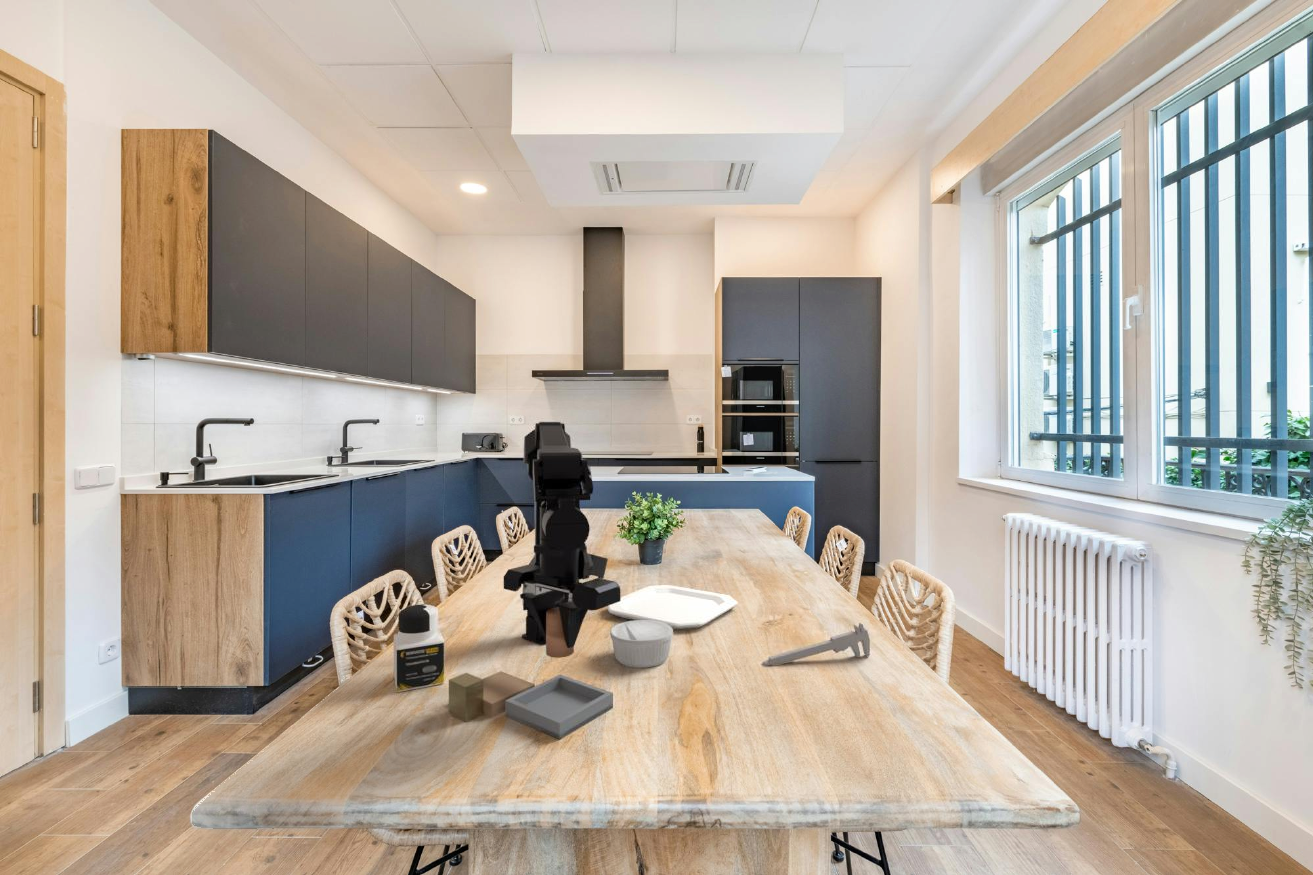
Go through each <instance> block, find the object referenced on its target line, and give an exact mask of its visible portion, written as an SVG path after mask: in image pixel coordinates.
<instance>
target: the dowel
mask: <svg viewBox="0 0 1313 875" xmlns="http://www.w3.org/2000/svg"><path fill="white" fill-rule="evenodd" d="M574 648H575V645H574V646H573V647H572V648H567V645H566V642H565V638H564V632H563V627H562V622H561V617H560V611H559V607H558V608H552V609H549V610H547V611H546V644H545V654H546V656H547V657H549V658H550V657H551V658H554V659H555V658H556V659H557V658H559V659H560V658H566V657H570V656H572V655H573V654H574V653H575V649H574Z"/></svg>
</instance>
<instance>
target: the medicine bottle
mask: <svg viewBox="0 0 1313 875" xmlns="http://www.w3.org/2000/svg"><path fill="white" fill-rule="evenodd" d="M397 617H398V633H395V634H393V679H394V686H395V691H396V692H397V693H401V692H406V691H412V690H419V689H423V688H428V687H432V686H438V685H439V686H440V685H443V684H444V683H445V640H444V638H443V636H442V634H441V631H440V629H439V609H438V607H436V606H435V605H432V604H424V603H423V604H413V605H410V606H407V607H405V608H403V609H401V610H400V611H399V613H398V616H397Z"/></svg>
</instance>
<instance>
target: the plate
mask: <svg viewBox="0 0 1313 875" xmlns="http://www.w3.org/2000/svg"><path fill="white" fill-rule="evenodd" d="M738 604H739V603H738V601H737V600H736V599H734V598H733V597H732V596H731V595H729V594H723V593H717V592H713V591H712V592H710V591H706V590H699V589H695V588H694V589H693V588H688V587H682V586H677V585H671V584H663V585H662V584H661V585H660V584H659V585H649V586H646V587H643V588H642V589H638V590H635V591H633V592H631V593H628V594H627V595H624V596H622V597H621V596H620V601H619V602H617V603H614V604H611V605H609V606H606V608H607V611H608V613H609V614H612V615H614V616H616V617H620V618H622V619H627V620H629V621H635V620H652V621H659V622H663V623H666V624H668V625H669V626H670V627H671V628H672V629H673V630H687V629H689V630H690V629H697V628H700V627H702V626H705V625H706V624H708V623H709V622H711V621H713V620H714V619H716V618H718V617H719V616H721V615H723V614H724V613H726V612H728V611H729V610H731V609H733V608H734V607H736V606H738Z"/></svg>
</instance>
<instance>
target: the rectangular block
mask: <svg viewBox="0 0 1313 875" xmlns="http://www.w3.org/2000/svg"><path fill="white" fill-rule="evenodd" d="M448 714H449V716H452V717H454V718H456V719H459V720H461V721H462V722H465V723H467V722H469V721H472V720H474V719H476V718H478V717H479V716H482V715H484V714H483V678H480V677H478V676H475V675H473V674H471V673H469V672H465V673H463V674H460V675H457V676H455V677H452V678H450V679H448Z"/></svg>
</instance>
